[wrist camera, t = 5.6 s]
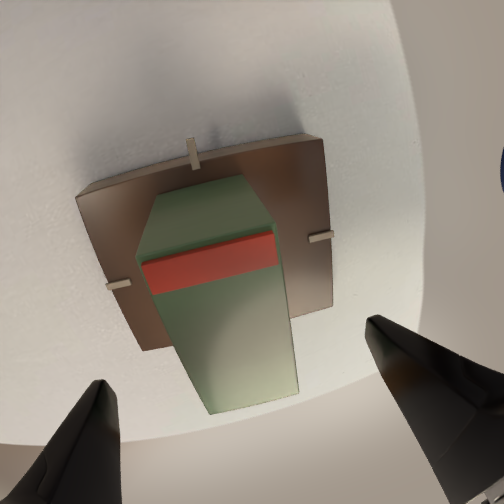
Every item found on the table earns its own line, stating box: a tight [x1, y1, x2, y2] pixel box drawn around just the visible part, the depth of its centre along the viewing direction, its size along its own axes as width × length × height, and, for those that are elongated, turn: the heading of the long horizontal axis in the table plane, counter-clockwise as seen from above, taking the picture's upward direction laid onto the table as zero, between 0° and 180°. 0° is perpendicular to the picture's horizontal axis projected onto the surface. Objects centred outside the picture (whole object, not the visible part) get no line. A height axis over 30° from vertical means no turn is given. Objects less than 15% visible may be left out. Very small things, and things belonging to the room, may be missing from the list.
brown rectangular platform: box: [75, 133, 334, 351], centre depth 16 cm, size 12×12×3 cm
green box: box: [135, 174, 299, 415], centre depth 13 cm, size 8×4×6 cm, turn 10°
